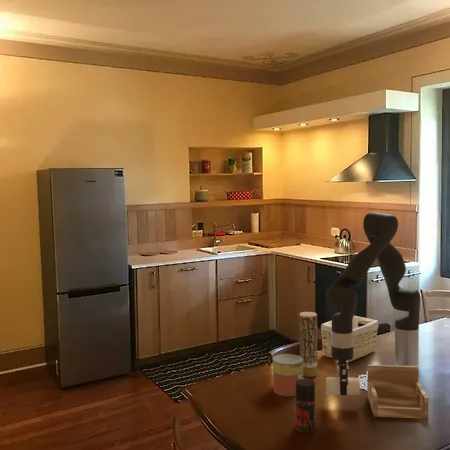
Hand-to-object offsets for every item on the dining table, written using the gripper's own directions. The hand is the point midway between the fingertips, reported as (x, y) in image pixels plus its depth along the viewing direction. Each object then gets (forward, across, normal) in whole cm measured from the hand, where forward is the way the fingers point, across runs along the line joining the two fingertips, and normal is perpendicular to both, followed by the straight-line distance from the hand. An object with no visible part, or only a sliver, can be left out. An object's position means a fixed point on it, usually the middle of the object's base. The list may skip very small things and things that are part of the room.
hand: (342, 391), depth 179 cm
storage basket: (+6, +55, -8) cm, 56 cm away
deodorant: (+5, -18, +13) cm, 23 cm away
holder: (+5, 0, -18) cm, 19 cm away
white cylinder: (-2, 0, 0) cm, 2 cm away
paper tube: (+5, +28, +11) cm, 30 cm away
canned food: (+5, +12, +19) cm, 23 cm away
